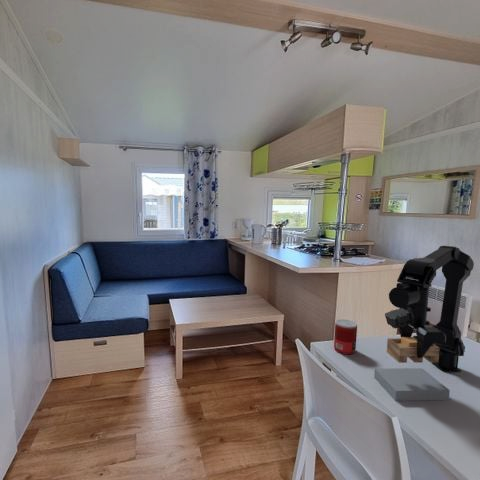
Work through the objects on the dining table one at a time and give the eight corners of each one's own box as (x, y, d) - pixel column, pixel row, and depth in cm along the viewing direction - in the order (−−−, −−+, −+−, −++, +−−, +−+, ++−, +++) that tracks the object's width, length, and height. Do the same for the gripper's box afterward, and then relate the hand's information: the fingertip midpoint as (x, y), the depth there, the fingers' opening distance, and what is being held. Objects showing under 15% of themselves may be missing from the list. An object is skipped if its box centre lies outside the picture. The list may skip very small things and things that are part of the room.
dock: (421, 376, 98) (422, 368, 98) (448, 399, 86) (449, 390, 86) (374, 377, 97) (374, 368, 97) (395, 400, 86) (396, 390, 85)
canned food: (357, 356, 112) (359, 327, 111) (334, 353, 113) (336, 325, 112) (353, 346, 119) (355, 320, 118) (332, 344, 121) (334, 318, 120)
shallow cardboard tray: (423, 351, 95) (424, 338, 94) (438, 362, 88) (439, 347, 88) (386, 351, 94) (387, 338, 94) (398, 362, 87) (400, 347, 87)
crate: (416, 343, 93) (416, 336, 93) (424, 348, 89) (425, 342, 89) (400, 343, 92) (401, 337, 92) (408, 348, 89) (409, 342, 88)
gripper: (374, 293, 98) (371, 339, 100) (409, 313, 80) (405, 368, 81) (407, 293, 99) (403, 339, 100) (449, 313, 80) (444, 368, 82)
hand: (412, 352), depth 91 cm, fingers closed on shallow cardboard tray, 7 cm apart
